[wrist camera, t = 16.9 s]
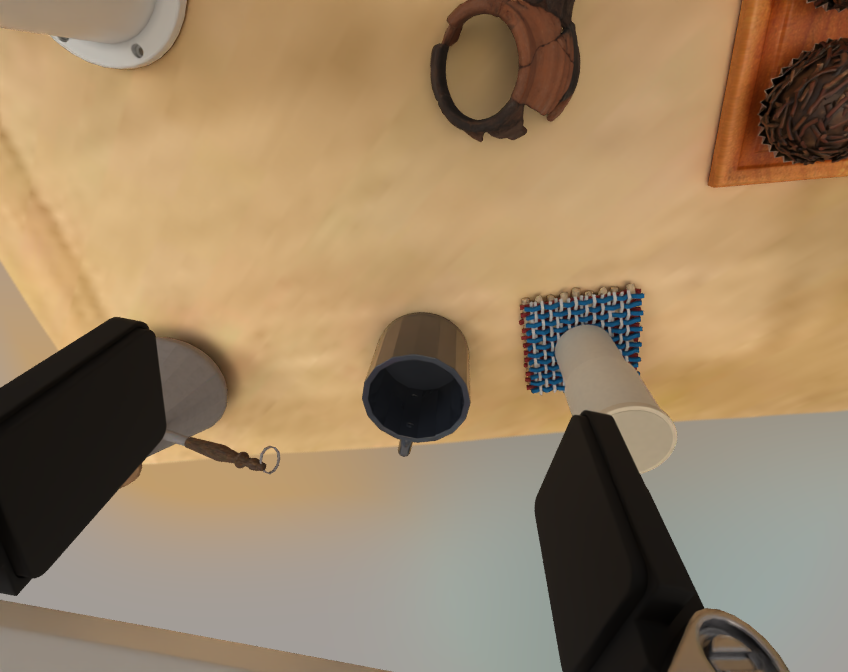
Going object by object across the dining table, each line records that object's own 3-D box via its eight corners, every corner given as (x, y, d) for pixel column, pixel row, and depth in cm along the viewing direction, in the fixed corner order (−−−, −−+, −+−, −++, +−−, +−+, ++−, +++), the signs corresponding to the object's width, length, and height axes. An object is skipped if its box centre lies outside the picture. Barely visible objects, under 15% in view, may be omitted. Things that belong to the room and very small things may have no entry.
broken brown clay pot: (546, 158, 35) (500, 174, 30) (458, 96, 38) (397, 100, 32) (653, -20, 27) (618, -47, 22) (532, -87, 29) (470, -127, 24)
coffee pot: (158, 418, 51) (53, 529, 38) (113, 329, 46) (-27, 423, 33) (337, 407, 48) (290, 523, 35) (311, 312, 43) (245, 407, 30)
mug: (385, 303, 42) (369, 345, 35) (478, 322, 42) (481, 367, 35) (369, 404, 48) (353, 457, 41) (451, 420, 48) (448, 476, 41)
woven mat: (516, 294, 41) (518, 303, 39) (638, 278, 39) (646, 287, 37) (524, 388, 45) (526, 400, 44) (633, 377, 44) (640, 389, 42)
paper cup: (540, 370, 42) (568, 467, 31) (561, 313, 39) (601, 398, 28) (603, 382, 42) (653, 484, 31) (629, 326, 39) (695, 417, 28)
